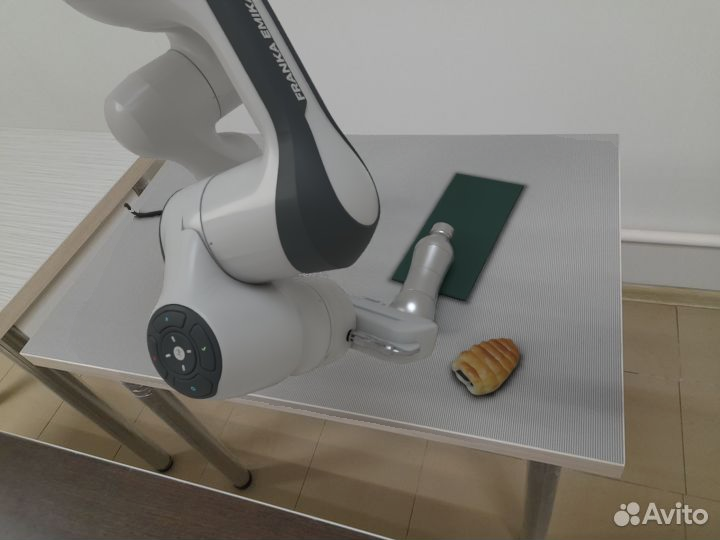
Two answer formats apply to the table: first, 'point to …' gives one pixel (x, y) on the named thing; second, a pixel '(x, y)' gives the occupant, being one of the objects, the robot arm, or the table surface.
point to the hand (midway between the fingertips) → (374, 306)
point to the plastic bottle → (427, 272)
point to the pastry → (486, 365)
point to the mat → (467, 228)
